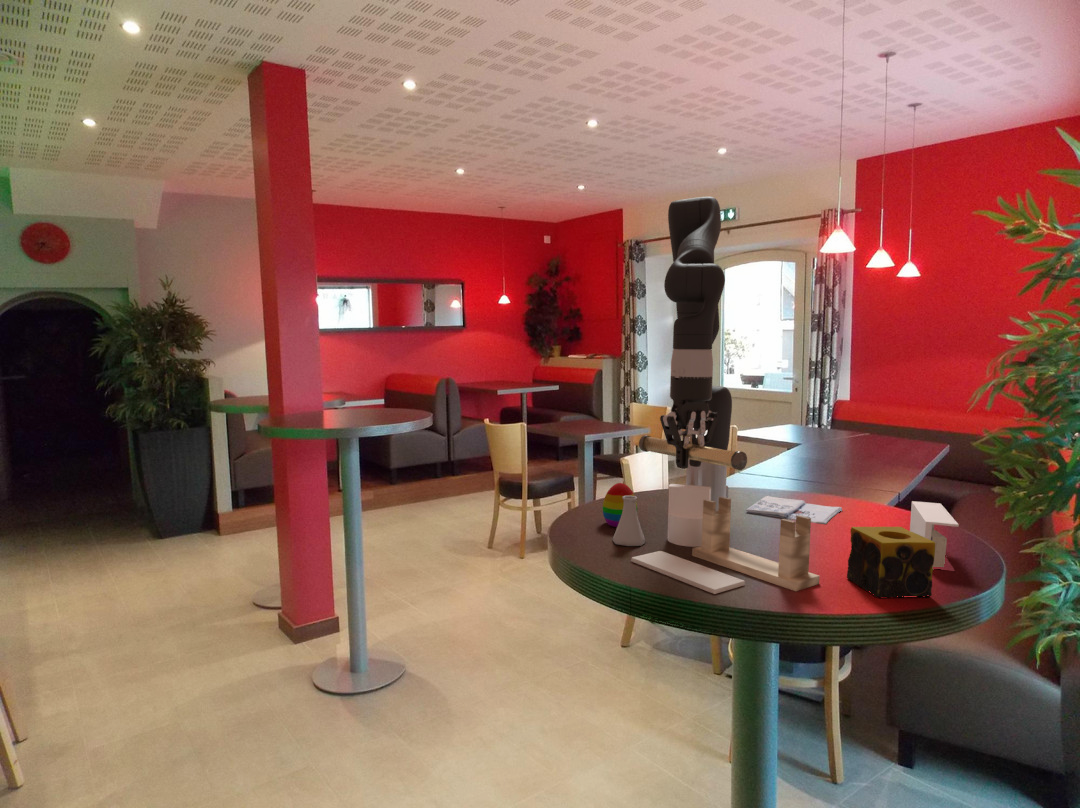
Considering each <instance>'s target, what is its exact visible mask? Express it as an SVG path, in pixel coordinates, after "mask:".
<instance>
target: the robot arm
mask: <svg viewBox="0 0 1080 808" xmlns="http://www.w3.org/2000/svg"><path fill="white" fill-rule="evenodd" d="M667 210H668V211H667V212H668V213H667V216H668V217H667V218H668V219H667V222H668V232H669V238H670V239H669V240H670V247H671V253H672V254H671V255H672V263H671V265H670V267H669V268H668V270H667V271H666V275H665V278H664V282H663V283H664V285H663V286H664V293H665V295H666V296H667V298H668V299H669V300H670V301H671V302H673V303H676V304H675V305H676V306H675V307H676V308H675V309H676V319H675V320H674V323H673V328H672V329H673V330H672V331H673V332H672V333H673V334H672V335H673V336H672V354H671V360H670V361H671V362H670V386H669V387H670V389H669V391H670V393H669V397H670V399H671V400H672V406H671V409H670V411H671V412H669V413H667V414H666V415H665V414H662V415H661V416H660V417H659V421H660V424H661V427H662V429H663V433H664V437H665V440H667V443H668V444H669V445H673V446H675V447H676V456H675V465H676V467H677V469H682V470H685V473H686V474H685V485H693V486H706V487H711V501H715V502H716V511H718V504H719V497H726V498H729V486H728V485H727V471H728V469H727V468H728V467H727V466H722V465H717V464H711V463H706V462H701V461H696V460H691V459H688V452H689V449H687V448H688V444H693V445H699V446H705V447H711V448H717V449H722V450H728V447H729V444H730V443H729V442H730V435H731V433H730V432H731V422H732V414H733V413H732V412H733V411H732V410H733V398H732V394H731V392H730V389H728V388H727V387H725V386H719V385H718V386H716V385H713V376H714V374H713V373H714V372H713V371H714V358H713V357H714V356H713V344H714V342H715V340H716V338H717V336H718V333H719V330H720V311H719V303H720V300H721V298H722V295H723V292H724V288H725V282H726V277H725V273H724V270H723V268H722V267H721V266H719V264H716V263H715V248H716V245H717V244H718V240H719V237H720V233H721V227H722V219H721V218H722V213H721V207H720V203H719V201H718V199H717V198H715V197H713V196H700V197H699V196H698V197H692V198H691V197H690V198H685V199H684V198H683V199H678V200H673V201H672V202H670V204H669V206H668V209H667Z"/></svg>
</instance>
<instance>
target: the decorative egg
mask: <svg viewBox="0 0 1080 808" xmlns="http://www.w3.org/2000/svg"><path fill="white" fill-rule="evenodd" d="M623 496H636V495H635V494H634V491H633V490H632V488H630V487H629V486H628V485H627V484H626V483H623V482H618V483H615V484H613V485H612V486H611V487H609V489H608V491H607V492H606V494H605V496H604V499H603V502H602V515H603V518H604V520H605V522H606V523H607V525H609V526H610V527H613V528H617V527H618V524H619V521H620V518H621V516H622V512H623V507H624V500H623V498H622V497H623ZM637 502H638V501H637V500H636V510H637V511H638V503H637Z"/></svg>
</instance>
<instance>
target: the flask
mask: <svg viewBox="0 0 1080 808" xmlns="http://www.w3.org/2000/svg"><path fill="white" fill-rule="evenodd" d="M622 498H623V500H624V507H623V512H622V516H621V518H620V521H619V524H618V527H616V530H615V533H614V535H613V537H612V540H611V541H613V543H614V544H615V545H617V546H618V545H619V546H625V547H639V546H640V547H642V546H643V545H644V544H646V542H647V541H646V538H645V536H644V532H643V530H642V526H641V524H640V520H639V517H638V509H637V510H636V501H637V500H638V497H637V496H636V495H635V496H623V497H622Z"/></svg>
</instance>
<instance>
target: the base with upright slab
mask: <svg viewBox="0 0 1080 808" xmlns="http://www.w3.org/2000/svg"><path fill="white" fill-rule="evenodd" d="M705 499H707V500H711V487H706V486H693V485H686V484H681V483H679V484H676V483H670V484H669V485H668V511H667V515H668V517H667V541H668V542H669V543H671V544H672V545H673V544H674V545H677V546H682V547H683V546H684V547H692V548H696V547H700V546H702V522H703V500H705Z"/></svg>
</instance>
